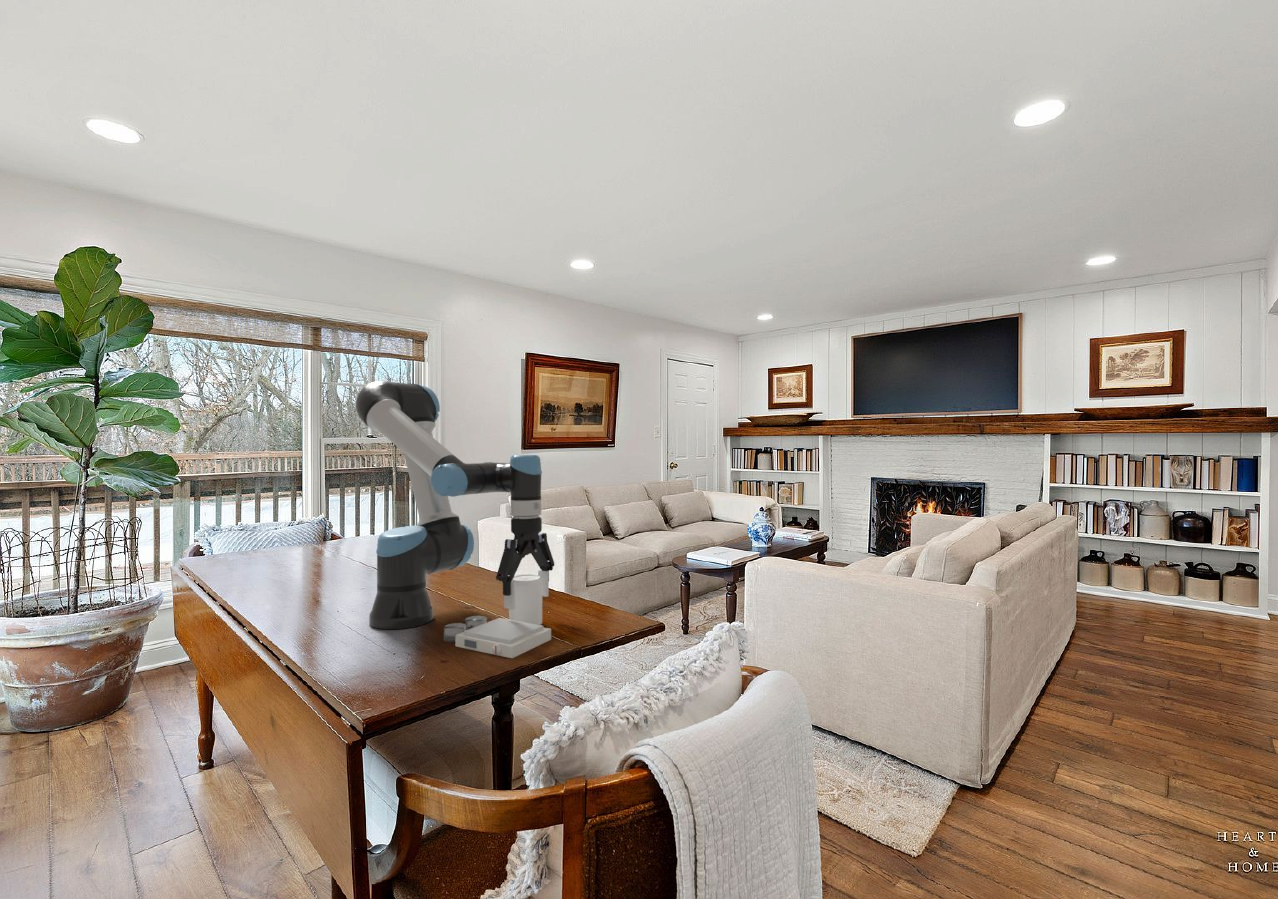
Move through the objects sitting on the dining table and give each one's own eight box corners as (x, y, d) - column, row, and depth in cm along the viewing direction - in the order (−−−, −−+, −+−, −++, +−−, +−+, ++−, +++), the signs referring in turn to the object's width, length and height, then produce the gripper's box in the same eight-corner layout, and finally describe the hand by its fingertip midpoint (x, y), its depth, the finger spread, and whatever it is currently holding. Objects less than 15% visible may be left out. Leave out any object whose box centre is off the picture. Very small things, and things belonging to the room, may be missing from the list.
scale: (453, 647, 135) (453, 632, 135) (497, 629, 148) (497, 616, 148) (510, 659, 128) (510, 643, 128) (551, 639, 141) (551, 625, 141)
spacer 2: (460, 632, 146) (460, 619, 146) (475, 626, 151) (475, 614, 151) (476, 635, 144) (476, 622, 144) (491, 629, 148) (491, 617, 148)
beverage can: (535, 631, 147) (535, 582, 147) (503, 629, 149) (503, 580, 148) (546, 621, 155) (547, 574, 155) (516, 619, 156) (517, 573, 156)
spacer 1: (439, 640, 140) (439, 627, 140) (454, 634, 145) (454, 622, 145) (455, 644, 138) (455, 630, 138) (470, 637, 142) (470, 625, 142)
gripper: (505, 523, 139) (506, 616, 139) (567, 512, 161) (567, 592, 161) (480, 521, 142) (481, 612, 142) (544, 511, 164) (544, 590, 164)
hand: (527, 602), depth 151 cm, fingers open, 13 cm apart
